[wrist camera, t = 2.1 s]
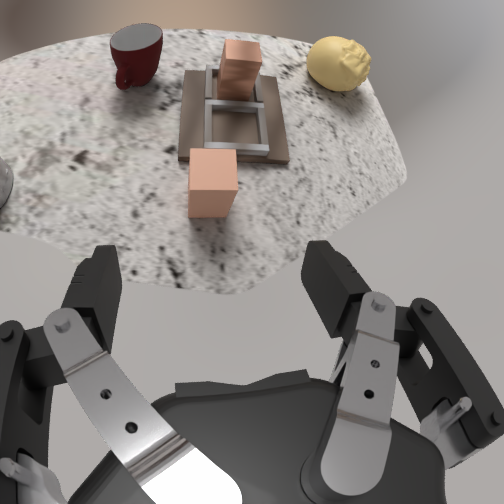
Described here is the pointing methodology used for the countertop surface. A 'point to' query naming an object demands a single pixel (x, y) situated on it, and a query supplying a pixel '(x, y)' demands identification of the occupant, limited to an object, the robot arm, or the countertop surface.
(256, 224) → the countertop surface
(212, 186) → the pillar
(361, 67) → the sculpture
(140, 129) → the countertop surface
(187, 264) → the countertop surface
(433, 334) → the robot arm
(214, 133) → the wooden block stand
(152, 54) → the mug
